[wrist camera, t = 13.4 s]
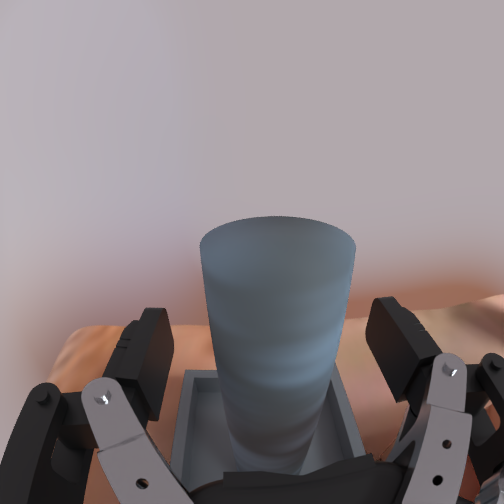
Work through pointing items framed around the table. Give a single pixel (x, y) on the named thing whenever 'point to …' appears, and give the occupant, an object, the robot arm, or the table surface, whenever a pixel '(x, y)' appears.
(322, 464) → the tray
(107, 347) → the table surface
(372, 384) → the table surface
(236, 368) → the dowel
